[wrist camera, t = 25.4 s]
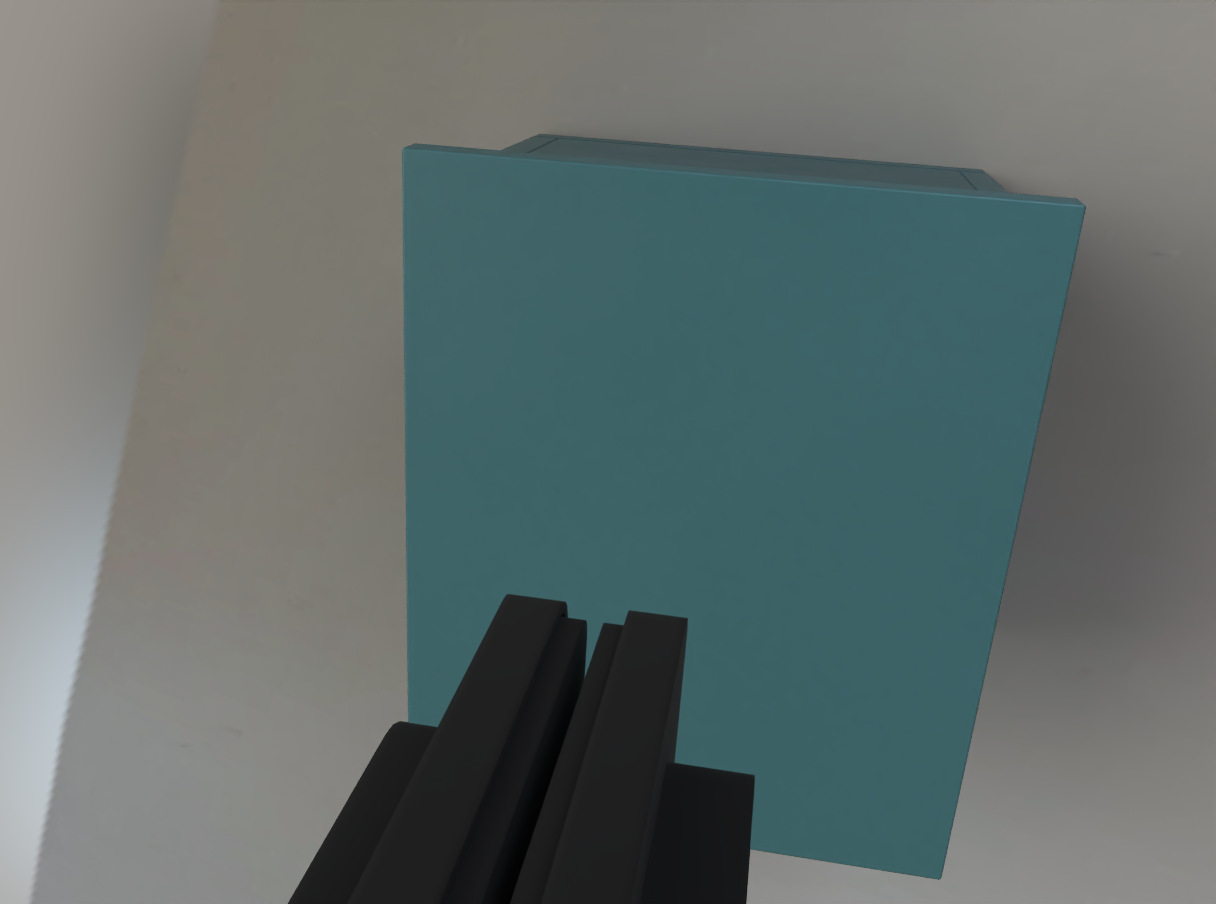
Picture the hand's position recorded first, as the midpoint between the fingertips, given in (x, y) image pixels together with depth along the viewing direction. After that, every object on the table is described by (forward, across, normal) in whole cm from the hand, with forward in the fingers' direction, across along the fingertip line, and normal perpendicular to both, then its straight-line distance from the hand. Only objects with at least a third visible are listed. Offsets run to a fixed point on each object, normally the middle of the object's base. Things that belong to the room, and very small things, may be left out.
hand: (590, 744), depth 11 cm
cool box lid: (+15, 0, +5) cm, 16 cm away
